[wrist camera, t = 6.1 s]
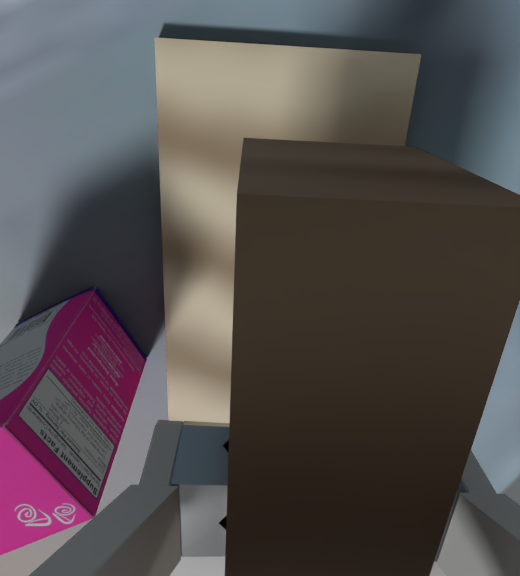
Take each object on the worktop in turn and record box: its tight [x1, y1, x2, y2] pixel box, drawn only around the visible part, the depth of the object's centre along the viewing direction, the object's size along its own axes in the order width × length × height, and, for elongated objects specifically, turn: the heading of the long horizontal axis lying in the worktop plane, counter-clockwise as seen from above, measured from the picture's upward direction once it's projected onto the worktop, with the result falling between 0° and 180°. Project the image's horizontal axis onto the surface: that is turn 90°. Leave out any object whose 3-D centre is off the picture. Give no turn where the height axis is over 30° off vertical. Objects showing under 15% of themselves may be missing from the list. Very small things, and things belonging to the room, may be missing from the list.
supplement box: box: [0, 287, 147, 555], centre depth 23 cm, size 6×6×11 cm
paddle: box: [170, 138, 520, 576], centre depth 10 cm, size 17×8×4 cm, turn 177°
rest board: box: [155, 38, 421, 423], centre depth 26 cm, size 22×12×1 cm, turn 177°
